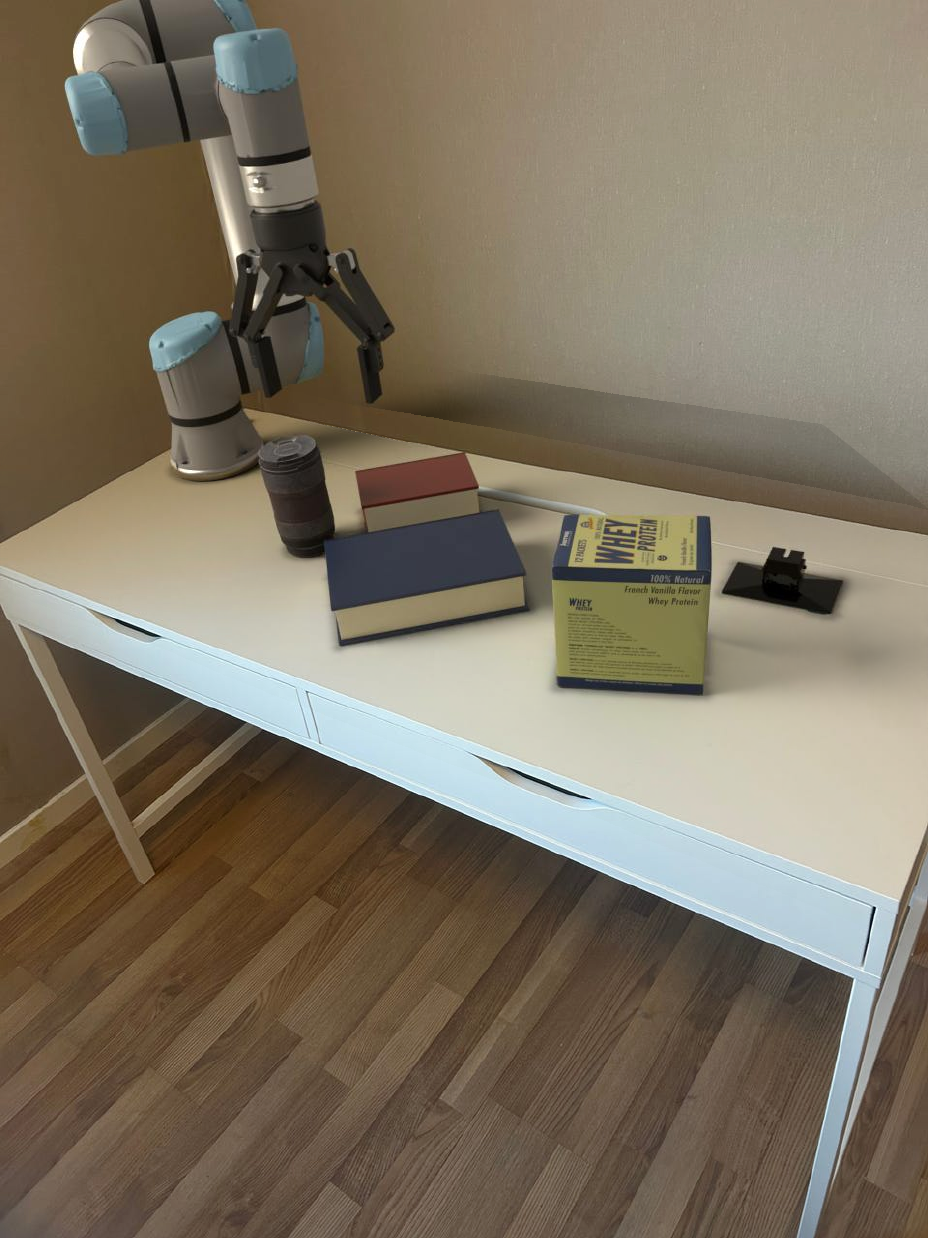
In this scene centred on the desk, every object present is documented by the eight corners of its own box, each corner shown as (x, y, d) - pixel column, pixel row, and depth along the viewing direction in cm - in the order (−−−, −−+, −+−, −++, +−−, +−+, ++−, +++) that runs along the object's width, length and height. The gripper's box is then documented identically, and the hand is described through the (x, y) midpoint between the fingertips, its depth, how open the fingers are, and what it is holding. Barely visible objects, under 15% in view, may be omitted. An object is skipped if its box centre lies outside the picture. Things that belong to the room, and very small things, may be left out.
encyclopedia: (331, 575, 123) (323, 540, 120) (501, 544, 125) (498, 508, 121) (339, 646, 110) (330, 608, 107) (529, 610, 112) (526, 572, 108)
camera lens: (276, 540, 132) (251, 443, 124) (331, 525, 134) (310, 428, 125) (288, 567, 126) (262, 466, 117) (345, 550, 128) (324, 450, 119)
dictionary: (362, 510, 137) (354, 470, 133) (469, 491, 138) (464, 451, 134) (369, 547, 128) (361, 506, 124) (483, 527, 129) (478, 485, 125)
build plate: (843, 583, 110) (848, 549, 107) (830, 617, 105) (835, 583, 102) (737, 563, 115) (740, 531, 112) (720, 595, 110) (723, 561, 107)
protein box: (705, 696, 96) (713, 569, 87) (555, 688, 99) (547, 566, 90) (705, 635, 104) (712, 513, 95) (566, 630, 108) (560, 512, 99)
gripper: (166, 215, 99) (217, 403, 111) (374, 210, 90) (405, 414, 103) (206, 198, 105) (250, 379, 117) (406, 191, 96) (432, 388, 108)
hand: (323, 396), depth 110 cm, fingers open, 13 cm apart
